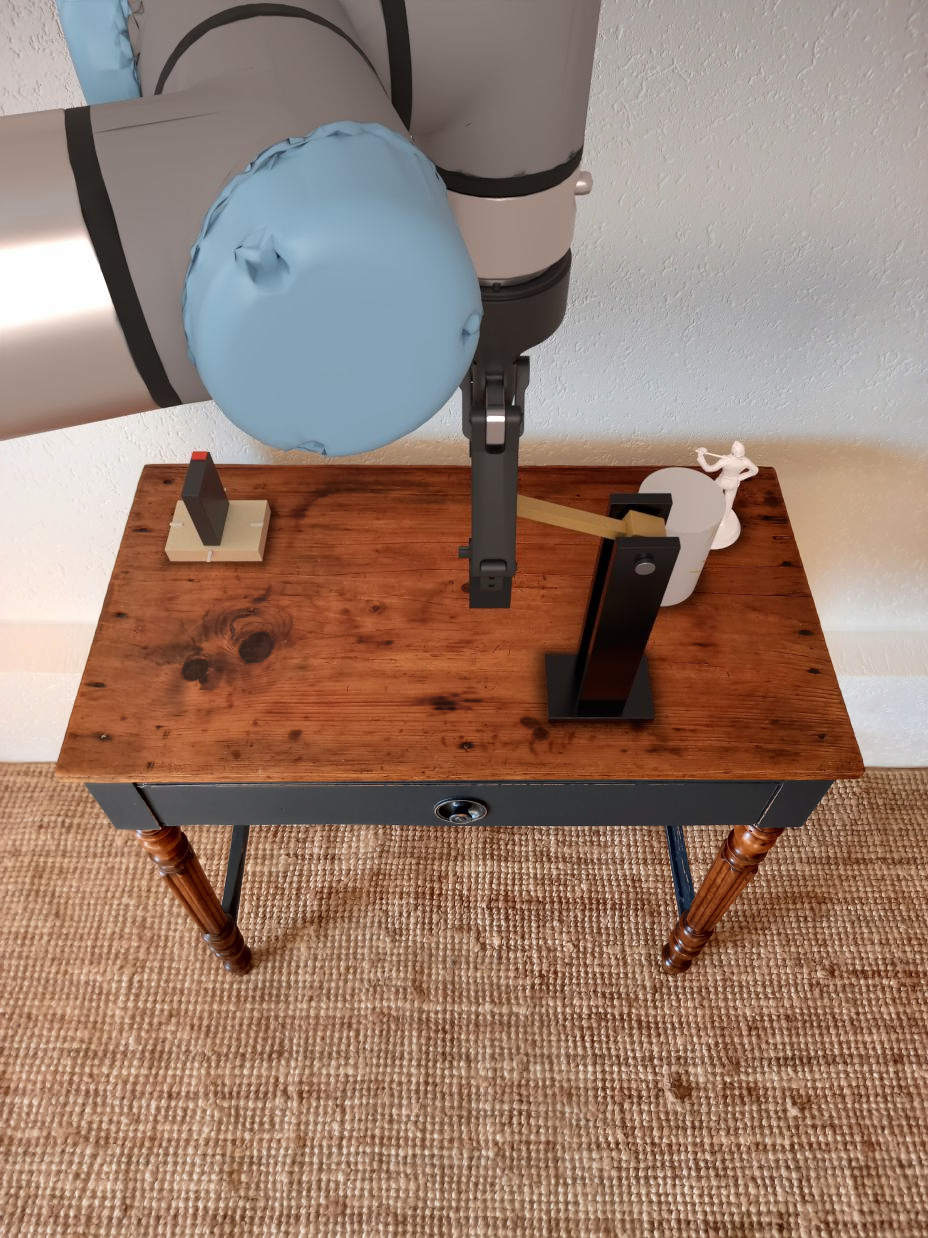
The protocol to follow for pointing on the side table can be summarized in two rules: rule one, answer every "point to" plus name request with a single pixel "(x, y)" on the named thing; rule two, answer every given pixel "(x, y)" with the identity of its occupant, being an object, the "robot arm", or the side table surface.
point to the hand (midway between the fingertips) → (488, 524)
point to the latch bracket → (615, 625)
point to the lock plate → (238, 538)
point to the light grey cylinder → (688, 523)
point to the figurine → (728, 488)
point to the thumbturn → (205, 498)
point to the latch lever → (591, 520)
